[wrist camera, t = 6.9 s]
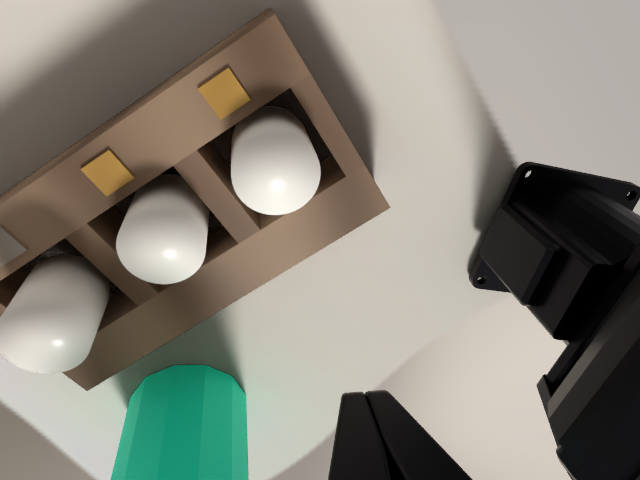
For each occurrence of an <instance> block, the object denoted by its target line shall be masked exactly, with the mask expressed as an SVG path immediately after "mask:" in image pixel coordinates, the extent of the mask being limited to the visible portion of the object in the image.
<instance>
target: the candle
mask: <svg viewBox="0 0 640 480" xmlns="http://www.w3.org/2000/svg"><path fill="white" fill-rule="evenodd" d="M111 480H248V448H247V414H246V394H245V393H244V392H243V390H242V389H241V387H240V386H239V385H238V383H237V382H236V381H235V379H234V378H233V376H231V375H228V374H226V373H224V372H221V371H219V370H217V369H214V368H212V367H209V366H207V365H173V366H171V367H168V368H166V369H164V370H161V371H159V372H157V373H154V374H152V375H150V376H147V377H146V378H145V379H144V380H143V381H142V383H141V384H140V385H139V387H138V388H137V389H136V391H135V392H134V393H133V394H132V396H131V397H130V401H129V406H128V410H127V414H126V418H125V422H124V427H123V431H122V435H121V439H120V443H119V448H118V452H117V456H116V460H115V464H114V469H113V473H112V477H111Z"/></svg>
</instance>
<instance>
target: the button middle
mask: <svg viewBox="0 0 640 480" xmlns="http://www.w3.org/2000/svg"><path fill="white" fill-rule="evenodd" d="M209 212H210V209H209V208H208V207H207V206H206V204H205V203H204V202H203V201H202V200H201V198H200V197H199V196H198V195H197V194H196V193H195V191H194V190H193V189H192V188H191V187H190V185H189V184H188V183H187V182H186V181H185V179H184V178H183V177H182V176H179V175H173V174H163V175H158V176H157V177H155V178H154V179H152V180H151V181H149V182H148V183H146V184H145V185H143V186H142V187H140V188H139V189H137V191H136V193H135V195H134V197H133V200H132V202H131V204H130V207H129V209H128V211H127V214H126V216H125V218H124V221H123V223H122V225H121V228H120V230H119V232H118V235H117V239H116V250H117V254H118V257H119V259H120V261H121V263H122V264H123V265H124V267H125V268H126V269H127V270H128V271H129V272H130V273H132V274H133V275H134V276H136V277H138V278H140V279H142V280H144V281H147V282H151V283H155V284H172V283H177V282H180V281H183V280H185V279H187V278H189V277H190V276H192V275H193V274H194V273H195V272H196V271H197V270H198V269H199V268H200V267H201V265H202V263H203V261H204V258H205V254H206V244H207V234H208V223H209Z"/></svg>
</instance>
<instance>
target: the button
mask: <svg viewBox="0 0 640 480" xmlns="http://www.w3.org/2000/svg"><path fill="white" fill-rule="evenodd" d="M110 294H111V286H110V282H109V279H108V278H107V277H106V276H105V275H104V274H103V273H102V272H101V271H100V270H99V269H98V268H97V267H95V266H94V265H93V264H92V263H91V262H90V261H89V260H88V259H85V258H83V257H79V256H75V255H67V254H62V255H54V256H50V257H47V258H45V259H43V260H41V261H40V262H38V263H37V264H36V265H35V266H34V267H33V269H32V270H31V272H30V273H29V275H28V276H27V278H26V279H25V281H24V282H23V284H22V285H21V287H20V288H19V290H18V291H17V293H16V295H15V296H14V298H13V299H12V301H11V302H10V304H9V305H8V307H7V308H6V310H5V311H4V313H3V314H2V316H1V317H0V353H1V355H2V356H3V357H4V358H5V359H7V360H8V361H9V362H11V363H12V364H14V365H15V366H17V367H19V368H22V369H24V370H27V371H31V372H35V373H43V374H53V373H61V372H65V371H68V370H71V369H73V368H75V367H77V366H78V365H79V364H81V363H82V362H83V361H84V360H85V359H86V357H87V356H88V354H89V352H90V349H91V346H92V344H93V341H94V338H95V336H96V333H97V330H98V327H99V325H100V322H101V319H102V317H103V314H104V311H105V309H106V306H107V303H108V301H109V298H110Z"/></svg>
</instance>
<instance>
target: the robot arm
mask: <svg viewBox="0 0 640 480" xmlns="http://www.w3.org/2000/svg"><path fill="white" fill-rule="evenodd" d="M530 170H531V174H530V175H529V176H528V177H526V178H525V175H526V173H527V172H528V171H530ZM629 192H630V194H629V195H628V196H627V194H628V193H629ZM639 199H640V187H638V186H637V185H635V184H633V183H631V182H626V181H621V180H616V179H611V178H607V177H602V176H597V175H592V174H587V173H582V172H577V171H572V170H568V169H563V168H558V167H553V166H548V165H543V164H539V163H534V162H525V163H523V164H521V165H520V166H519V167H518V168H517V170H516V172H515V174H514V176H513V179H512V181H511V183H510V185H509V187H508V190H507V192H506V194H505V196H504V199H503V201H502V203H501V205H500V207H499V208H498V210H497V212H496V214H495V217H494V219H493V221H492V223H491V225H490V228H489V230H488V232H487V234H486V237H485V239H484V241H483V243H482V246H481V248H480V250H479V255H478V257H477V259H476V261H475V264H474V266H473V268H472V270H471V272H470V275H469V280H470V282H471V283H472V285H473V286H474V287H475V288H478V289H486V290H494V291H502V292H510V293H512V294H513V295H514V296H515V298H516V299H517V300H518V301H519V302H520V303H521V304H522V305H524V306H526V307H527V308H528V309H529V310H530V311H531V312H532V314H533V315H534V316H535V317H536V318H537V319H538V320H539V322H540V323H541V324H542V325H543V326H544V328H545V329H546V330H547V331H548V332H549V333H550V335H551V336H552V337H553V338H554V339H557V340H563V342H564V343H565V344H566V345H567V347H566V348H565V350H564V351H563V352H562V354H561V355H560V357H559V358H558V360H557V361H556V363H555V364H554V365H553V367H552V368H551V370H550V371H549V372H548V374H547V375H543V377H542V378H541V379H540V381H539V382H538V384H537V388H538V391H539V394H540V397H541V400H542V403H543V406H544V409H545V411H546V415H547V417H548V420H549V423H550V426H551V429H552V432H553V435H554V438H555V441H556V444H557V447H558V448H557V449H556V453H557V456H558V458H559V460H560V462H561V464H562V465H563V466H564V468H565V469H566V471H567V473H568V474H569V476H570V477H571V479H572V480H640V216H639V215H638V214H635V213H634V212H633V209H634V207H635V205H636V204H637V202H638V200H639ZM481 276H483V277H482V278H481V279H479V280H477V279H478V278H479V277H481ZM328 480H472V479H471V478H470V477H469V476H468V475H467V473H465V471H463V469H462V468H461V467H460V466H459V465H458V464H457V463H456V462H455V461H454V460H453V459H452V458H451V457H450V456H449V455H448V454H447V453H446V452H445V450H444V449H443V448H442V447H441V446H440V445H439V444H438V443H437V442H436V441H435V440H434V439H433V438H432V437H431V436H430V435H429V434H428V433H427V432H426V431H425V430H424V428H423V427H421V425H420V424H419V423H418V422H417V421H416V420H415V419H414V418H413V417H412V416H411V415H410V414H409V413H408V412H407V411H406V410H405V409H404V407H403V406H402V405H401V404H400V403H399V402H398V401H397V400H396V399H395V398H394V397H393V396H392V395H391V394H390V393H389V392H388V391H385V390H377V391H368V392H366V393H365V394H364V393H363V392H351V393H344V394H343V395H342V397H341V403H340V409H339V416H338V422H337V428H336V434H335V441H334V446H333V452H332V459H331V465H330V471H329V477H328Z"/></svg>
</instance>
